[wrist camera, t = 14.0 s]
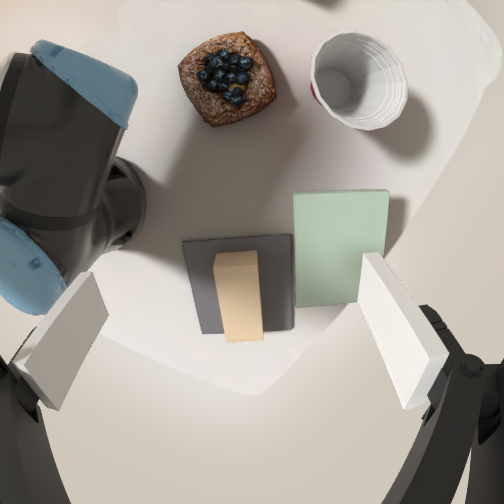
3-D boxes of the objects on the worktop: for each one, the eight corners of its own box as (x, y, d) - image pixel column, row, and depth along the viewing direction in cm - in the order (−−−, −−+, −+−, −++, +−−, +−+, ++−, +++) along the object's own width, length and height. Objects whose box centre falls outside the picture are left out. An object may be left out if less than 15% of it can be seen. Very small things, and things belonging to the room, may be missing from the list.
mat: (202, 331, 52) (198, 351, 47) (182, 241, 44) (175, 257, 39) (291, 327, 51) (294, 346, 46) (289, 233, 43) (293, 248, 38)
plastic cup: (382, 107, 34) (426, 109, 23) (317, 138, 37) (342, 148, 26) (346, 40, 30) (380, 17, 19) (278, 69, 32) (288, 49, 22)
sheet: (295, 302, 41) (296, 307, 40) (292, 192, 34) (294, 194, 33) (373, 295, 41) (376, 299, 40) (385, 189, 34) (389, 191, 32)
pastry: (211, 136, 37) (204, 139, 32) (171, 65, 32) (158, 57, 27) (285, 100, 35) (291, 97, 29) (244, 27, 30) (243, 14, 25)
